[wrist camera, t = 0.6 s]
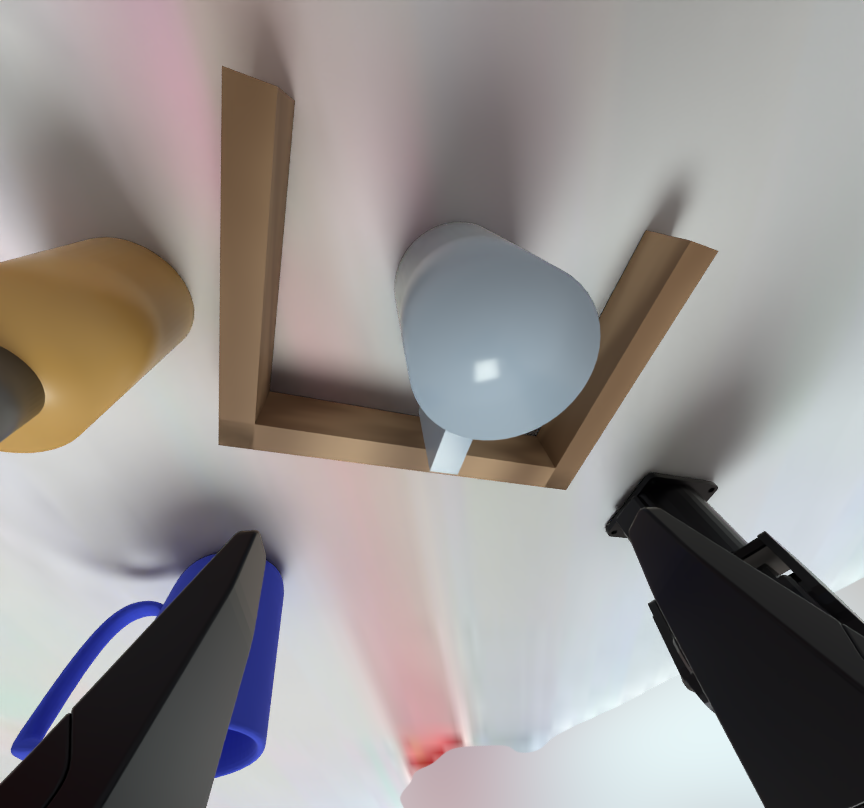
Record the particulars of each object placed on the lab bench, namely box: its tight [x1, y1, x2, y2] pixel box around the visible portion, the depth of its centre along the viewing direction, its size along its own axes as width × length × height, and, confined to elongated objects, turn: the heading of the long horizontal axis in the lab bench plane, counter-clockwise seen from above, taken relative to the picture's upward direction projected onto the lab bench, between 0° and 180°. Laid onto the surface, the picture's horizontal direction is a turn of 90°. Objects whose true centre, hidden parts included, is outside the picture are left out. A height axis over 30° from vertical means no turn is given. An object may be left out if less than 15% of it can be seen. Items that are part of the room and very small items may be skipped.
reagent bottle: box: [0, 237, 194, 453], centre depth 13 cm, size 5×5×9 cm
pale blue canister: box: [394, 222, 601, 475], centre depth 15 cm, size 6×9×8 cm
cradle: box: [219, 66, 718, 490], centre depth 18 cm, size 19×14×3 cm
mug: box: [11, 554, 284, 778], centre depth 23 cm, size 8×12×10 cm
